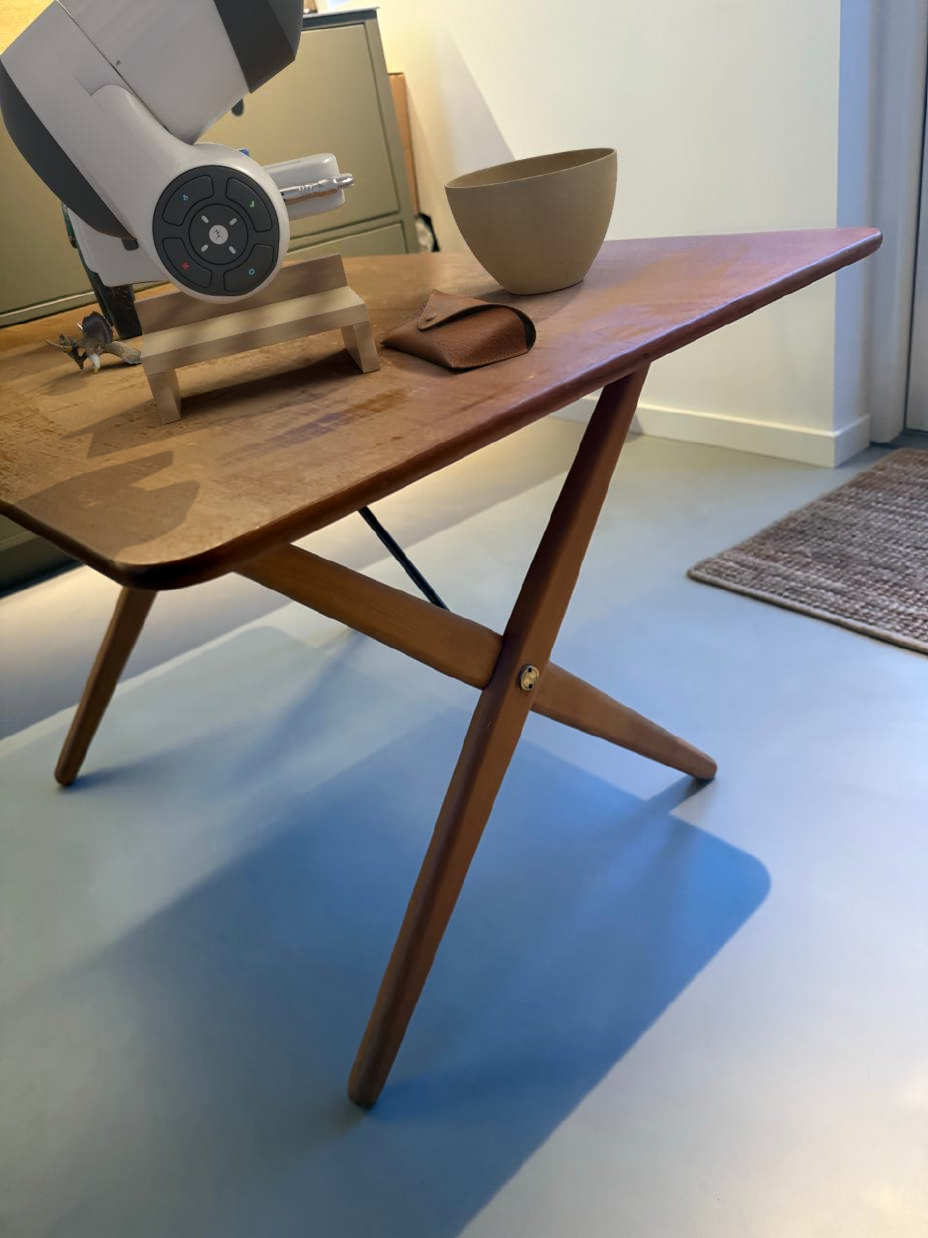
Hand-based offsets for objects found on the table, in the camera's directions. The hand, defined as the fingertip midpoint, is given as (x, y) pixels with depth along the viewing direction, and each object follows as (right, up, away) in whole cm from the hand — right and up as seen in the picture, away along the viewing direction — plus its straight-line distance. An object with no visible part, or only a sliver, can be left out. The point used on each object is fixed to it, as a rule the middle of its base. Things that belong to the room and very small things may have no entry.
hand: (208, 200), depth 80 cm
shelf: (+2, -11, +14) cm, 18 cm away
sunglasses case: (+20, -9, +12) cm, 25 cm away
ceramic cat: (-26, +6, +56) cm, 62 cm away
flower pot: (+30, +3, +29) cm, 41 cm away
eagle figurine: (-20, -5, +34) cm, 40 cm away
